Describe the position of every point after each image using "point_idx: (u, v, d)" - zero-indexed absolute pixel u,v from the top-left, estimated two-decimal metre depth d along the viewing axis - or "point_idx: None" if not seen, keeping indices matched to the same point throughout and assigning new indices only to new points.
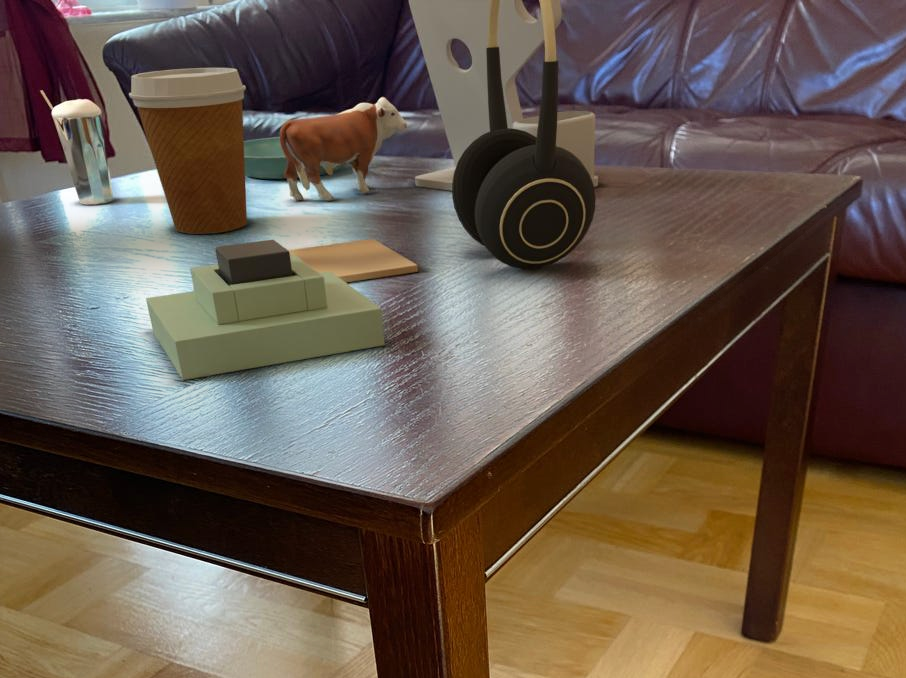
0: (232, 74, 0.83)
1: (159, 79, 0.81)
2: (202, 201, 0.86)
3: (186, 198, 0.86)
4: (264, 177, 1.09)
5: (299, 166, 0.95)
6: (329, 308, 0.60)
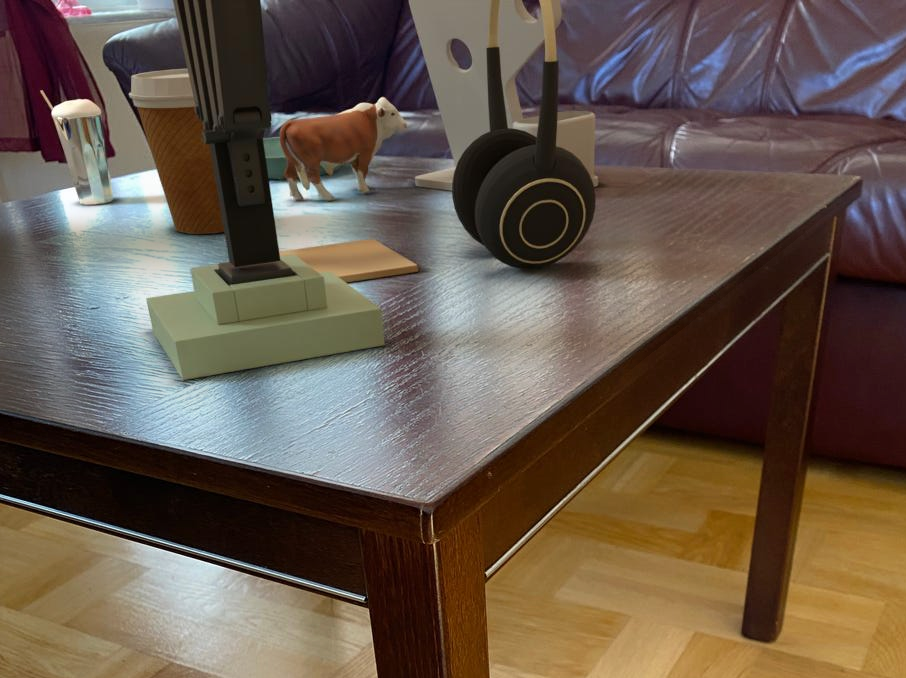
0: None
1: (159, 79, 0.81)
2: (202, 201, 0.86)
3: (186, 198, 0.86)
4: None
5: (299, 166, 0.95)
6: (329, 308, 0.60)
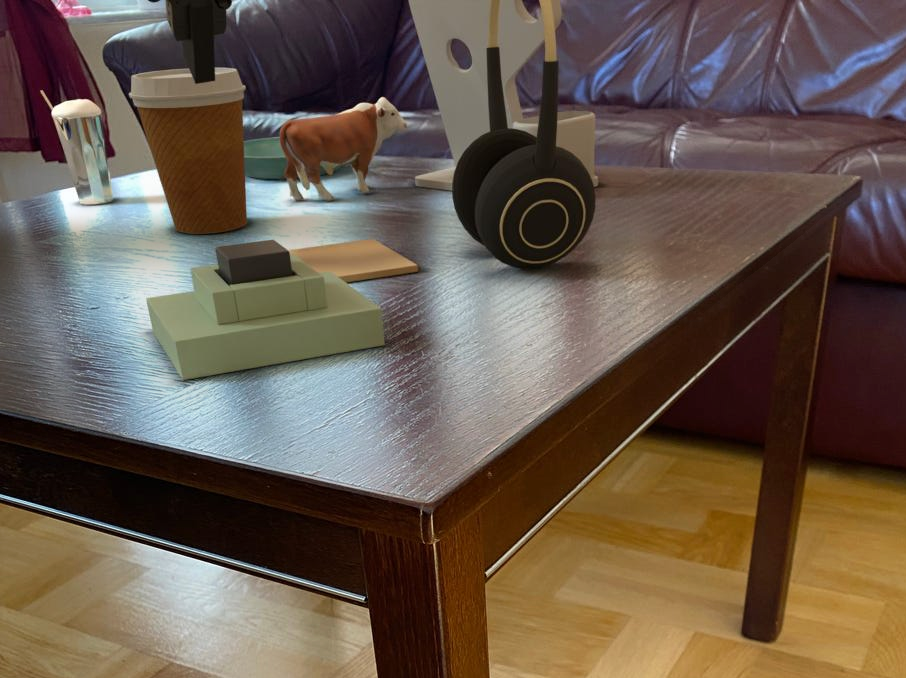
0: (232, 74, 0.83)
1: (159, 79, 0.81)
2: (202, 201, 0.86)
3: (186, 198, 0.86)
4: (264, 177, 1.09)
5: (299, 166, 0.95)
6: (329, 308, 0.60)
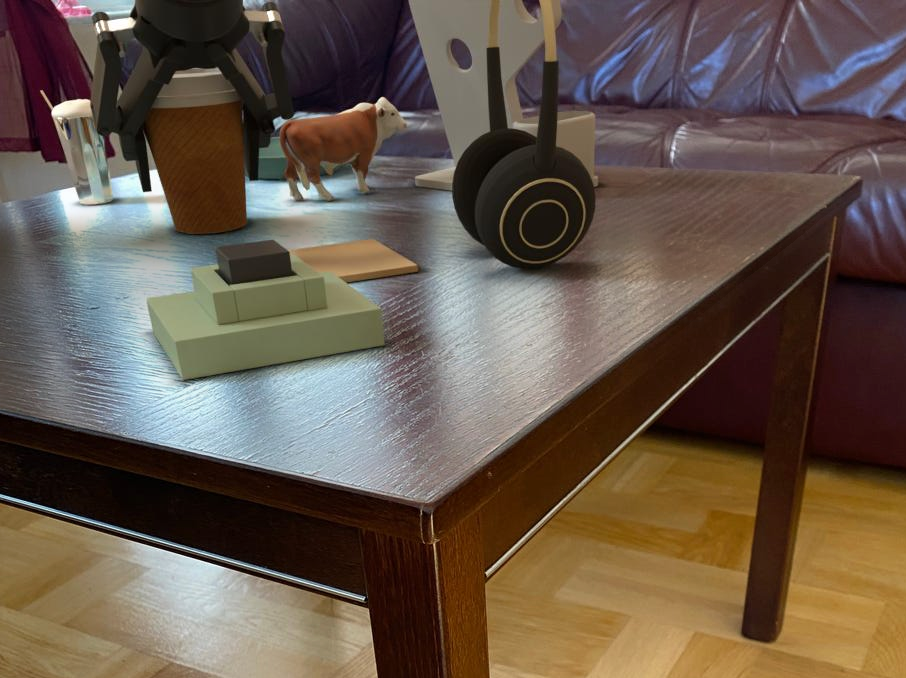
0: None
1: None
2: (202, 201, 0.86)
3: (186, 198, 0.86)
4: (264, 177, 1.09)
5: (299, 166, 0.95)
6: (329, 308, 0.60)
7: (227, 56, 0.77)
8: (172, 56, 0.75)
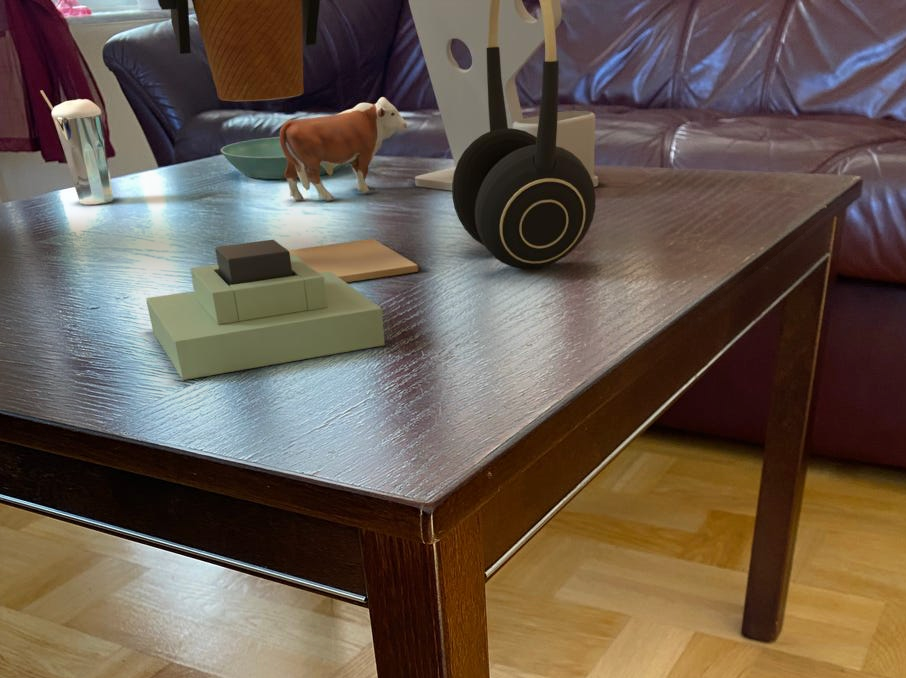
0: None
1: None
2: (254, 57, 0.72)
3: (235, 55, 0.71)
4: (264, 177, 1.09)
5: (299, 166, 0.95)
6: (329, 308, 0.60)
7: None
8: None
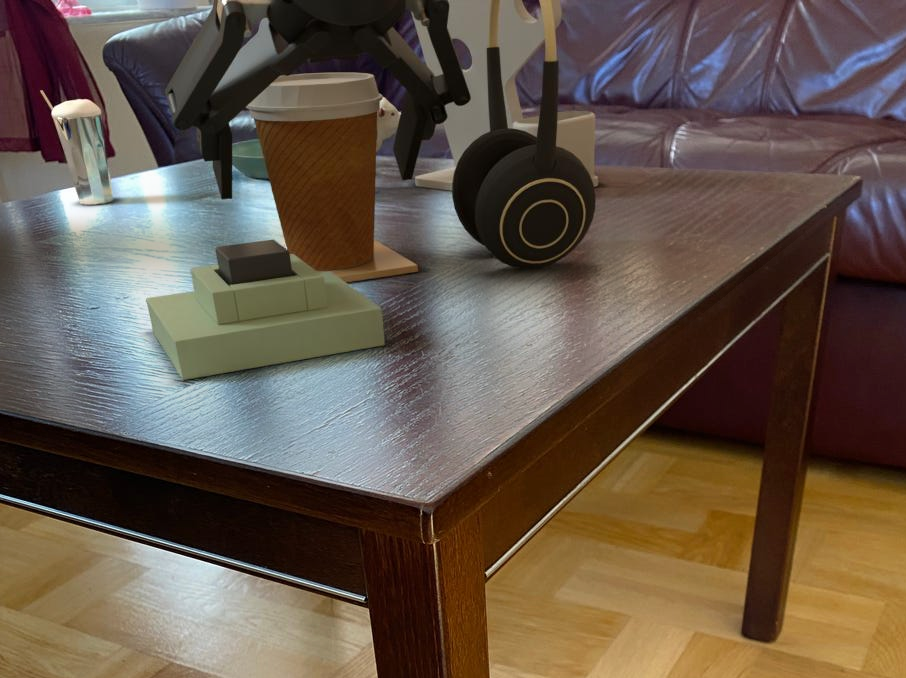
0: (370, 80, 0.69)
1: (287, 86, 0.67)
2: (329, 231, 0.72)
3: (310, 228, 0.72)
4: (264, 177, 1.09)
5: None
6: (329, 308, 0.60)
7: (380, 41, 0.62)
8: (311, 42, 0.61)
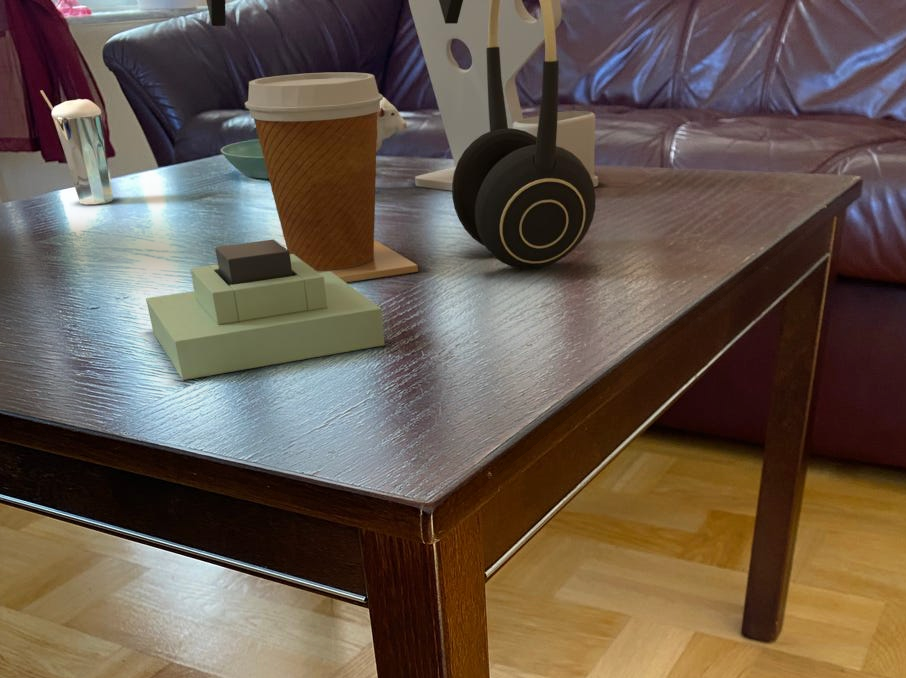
0: (370, 80, 0.69)
1: (287, 87, 0.67)
2: (329, 231, 0.72)
3: (310, 229, 0.72)
4: (264, 177, 1.09)
5: None
6: (329, 308, 0.60)
7: None
8: None
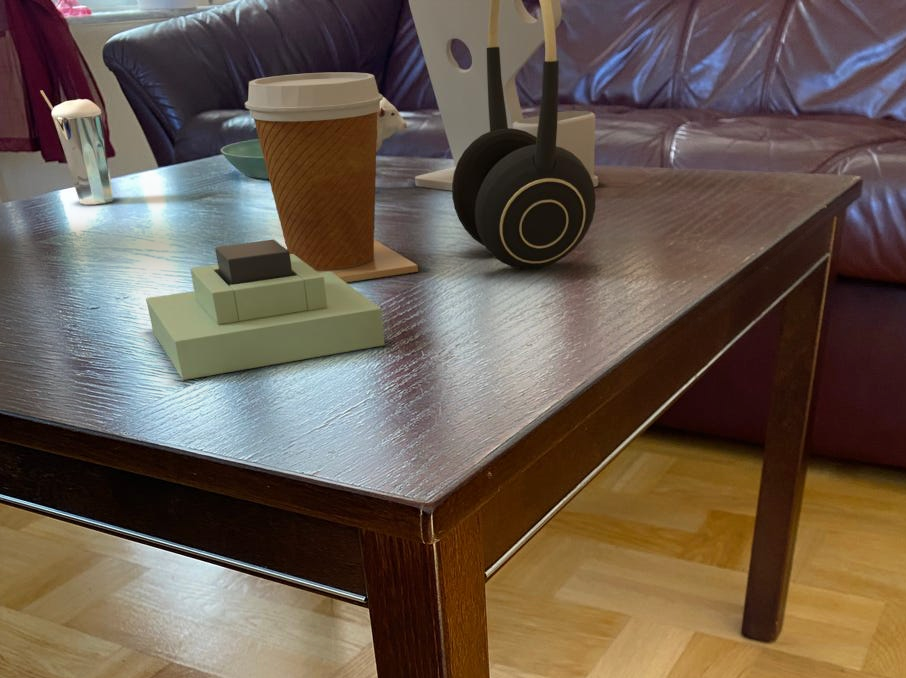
0: (370, 80, 0.69)
1: (287, 87, 0.67)
2: (329, 231, 0.72)
3: (310, 229, 0.72)
4: (264, 177, 1.09)
5: None
6: (329, 308, 0.60)
7: None
8: None
